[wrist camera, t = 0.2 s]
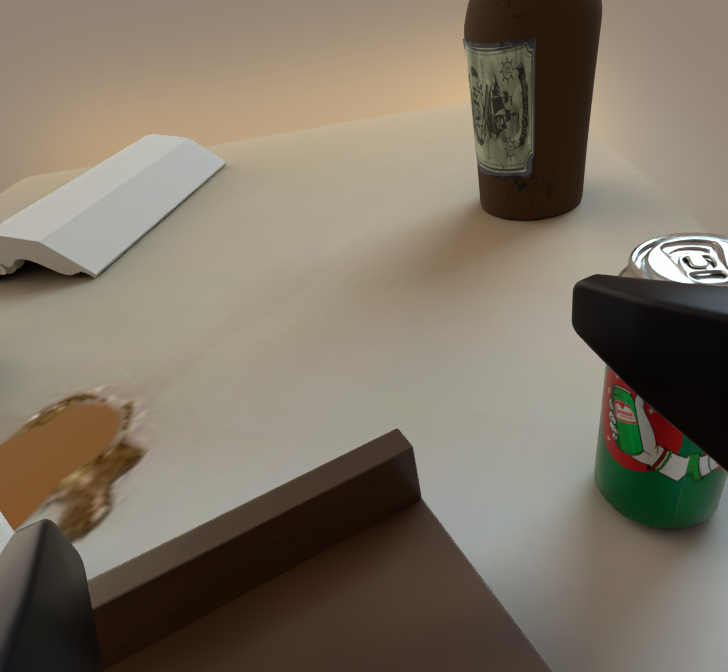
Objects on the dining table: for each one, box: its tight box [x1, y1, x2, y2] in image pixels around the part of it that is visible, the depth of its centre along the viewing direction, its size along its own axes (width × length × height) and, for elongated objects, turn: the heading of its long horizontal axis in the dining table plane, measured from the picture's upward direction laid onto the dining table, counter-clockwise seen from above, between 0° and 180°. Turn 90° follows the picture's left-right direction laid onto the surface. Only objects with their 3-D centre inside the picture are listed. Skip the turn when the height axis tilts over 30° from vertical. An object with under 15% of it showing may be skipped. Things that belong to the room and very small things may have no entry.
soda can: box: [595, 233, 728, 529], centre depth 22 cm, size 5×5×12 cm
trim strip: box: [0, 134, 226, 278], centre depth 70 cm, size 32×12×10 cm
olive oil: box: [463, 0, 602, 220], centre depth 46 cm, size 11×11×25 cm
